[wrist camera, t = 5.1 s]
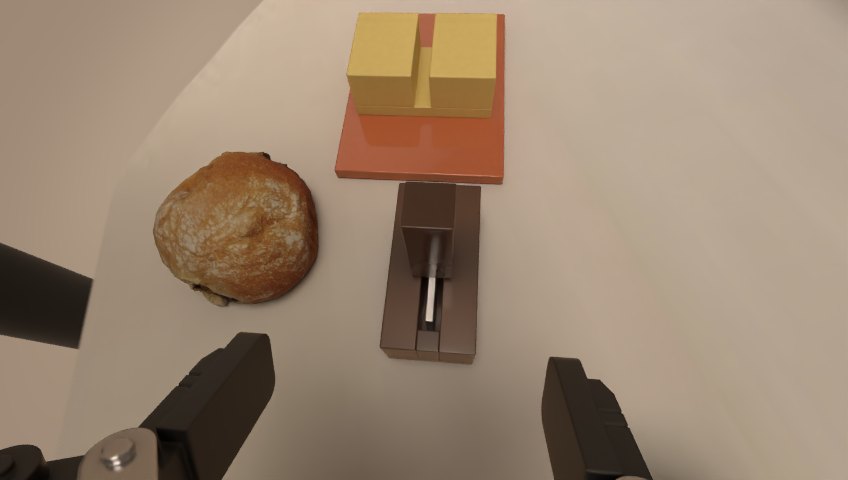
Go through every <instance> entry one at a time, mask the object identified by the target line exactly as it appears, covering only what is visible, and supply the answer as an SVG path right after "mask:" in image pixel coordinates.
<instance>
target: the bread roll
mask: <svg viewBox="0 0 848 480" xmlns="http://www.w3.org/2000/svg"><path fill="white" fill-rule="evenodd" d="M153 234H154V239H155V243H156V246H157V248H158V251H159V254H160V256H161V259H162V261H163V263H164V264H165V265H166V266H167V267H168V268H169V269H170V271H171V272H172V273H173V274H174V276H175V277H177V278H179V279H180V280H181V281H183V282H184V283H188V284H189V285H190V288H191V289H193V290H194V291H198V290H200V292H202V293H203V294H204V296H205V297H206V298H207V299H208V300H209V301H210V302H211V303H213V304H215V305H220V306H225V305H226V303H227V302H228V301H232V302H243V303H250V302H251V303H259V302H262V301H265V300H269V299H273V298H276V297H279V296H281V295H283V294H284V293H286V292H287V291H289V290H290V289H291V288H293V287H294V286H295V285H296V284H297V283H298V282H299V281H300V280H301V279H302V278H303V277H304V275H305V274H306V273H307V271H308V270H309V268H310V266H311V265H312V263H313V262H314V260H315V257H316V254H317V250H318V235H317V220H316V213H315V206H314V203H313V200H312V197H311V192H310V190H309V188H308V187H307V186H306V184H305V182H304V181H303V180H302V179H301V178H300V177H299V175H298V174H297V173H296V172H294V171H293V170H291V169H290V168H288V167H287V164H281V163H277V162H274V161H271V159H270V156H269V154H267V153H264V152H258V153H253V152H251V153H245V152H233V153H232V152H224V153H222V155H221V156H219V157H217V158H216V159H214V160H213V161H211V163H210V164H209V165H208V166H205V167H202V168H200V169H199V171H197V172H196V173H195V174H193V175H192V176H190V177H189V178H188V179H186V180H185V181H183V182H182V183H181V184H180V185H179V186H178V187H177V188H176V189H175V190H174V191H172V192H171V193H170V195H169V196H168V197H167V198H166V199H165V201H164V202H163V203H162V205H161V206H160V208H159V210H158V211H157V214H156V219H155V224H154V229H153Z"/></svg>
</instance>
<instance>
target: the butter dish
mask: <svg viewBox="0 0 848 480" xmlns="http://www.w3.org/2000/svg"><path fill="white" fill-rule="evenodd" d="M434 22H435V14H419V26H420V40H421V47H432V42H433V32H434ZM504 44H505V15H504V14H497V49H496V82H495V89H494V96H493V103H492V111H491V117H490V118H466V117H431V116H396V115H361V114H358V112H357V109H356V105H355V102H354V99H353V95H352V92H351V89H350V93H349V98H348V103H347V109H346V114H345V119H344V124H343V129H342V135H341V140H340V145H339V150H338V155H337V161H336V166H335V172H336V174H337V176H338V177H342V178H367V179H391V180H415V181H439V182H463V183H488V184H502V181H503V177H504Z"/></svg>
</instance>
